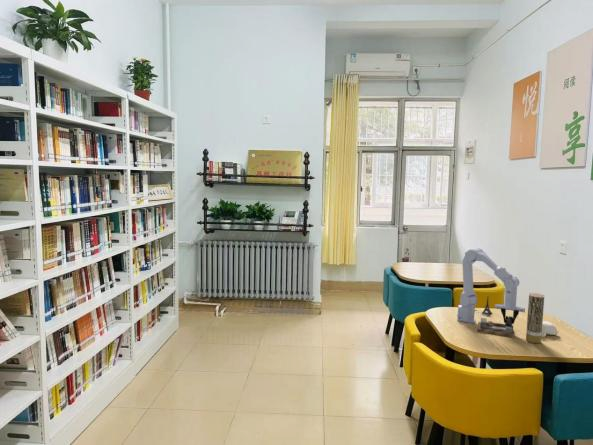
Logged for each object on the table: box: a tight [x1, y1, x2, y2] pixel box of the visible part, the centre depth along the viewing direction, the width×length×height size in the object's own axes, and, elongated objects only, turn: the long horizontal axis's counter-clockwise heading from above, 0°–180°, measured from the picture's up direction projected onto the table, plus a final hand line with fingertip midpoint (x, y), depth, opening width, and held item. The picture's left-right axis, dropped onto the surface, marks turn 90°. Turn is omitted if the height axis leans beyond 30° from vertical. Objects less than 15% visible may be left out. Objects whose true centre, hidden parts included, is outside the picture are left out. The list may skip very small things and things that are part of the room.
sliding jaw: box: [504, 315, 513, 330], centre depth 221 cm, size 4×8×7 cm, turn 153°
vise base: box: [476, 317, 515, 339], centre depth 224 cm, size 18×14×5 cm
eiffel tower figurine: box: [475, 295, 493, 318], centre depth 256 cm, size 15×10×13 cm
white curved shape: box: [541, 320, 559, 338], centre depth 220 cm, size 9×8×15 cm
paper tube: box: [525, 292, 545, 344], centre depth 208 cm, size 7×7×25 cm
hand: (508, 322), depth 221 cm, fingers closed on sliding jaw, 3 cm apart
